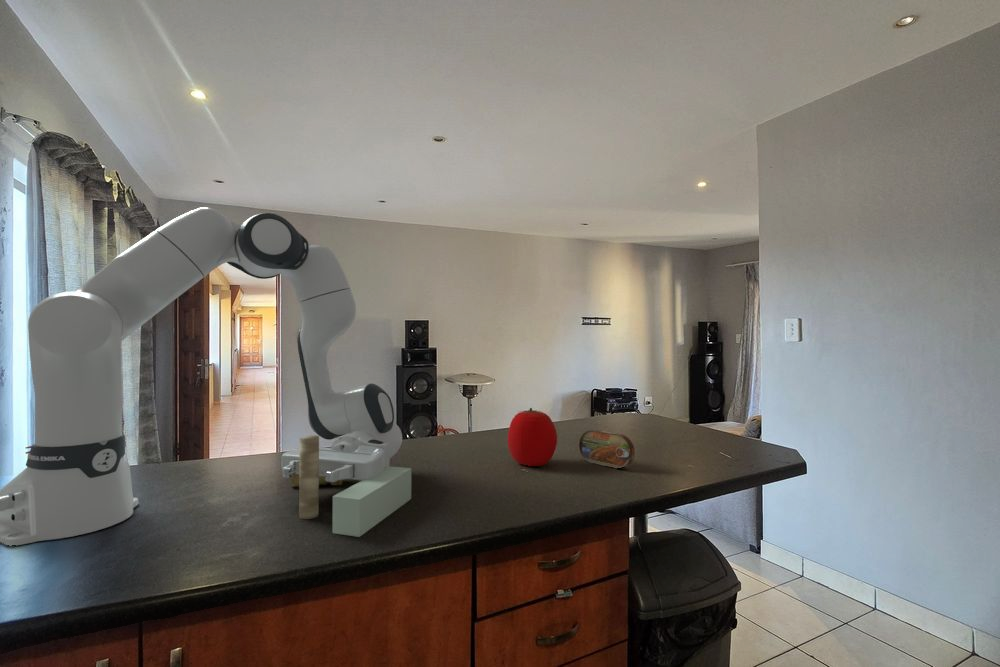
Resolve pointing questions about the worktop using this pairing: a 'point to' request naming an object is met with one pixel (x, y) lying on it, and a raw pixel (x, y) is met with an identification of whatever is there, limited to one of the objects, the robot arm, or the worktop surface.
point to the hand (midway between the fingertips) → (306, 475)
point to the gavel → (321, 481)
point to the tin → (607, 447)
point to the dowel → (309, 477)
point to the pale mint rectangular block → (370, 501)
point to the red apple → (532, 438)
